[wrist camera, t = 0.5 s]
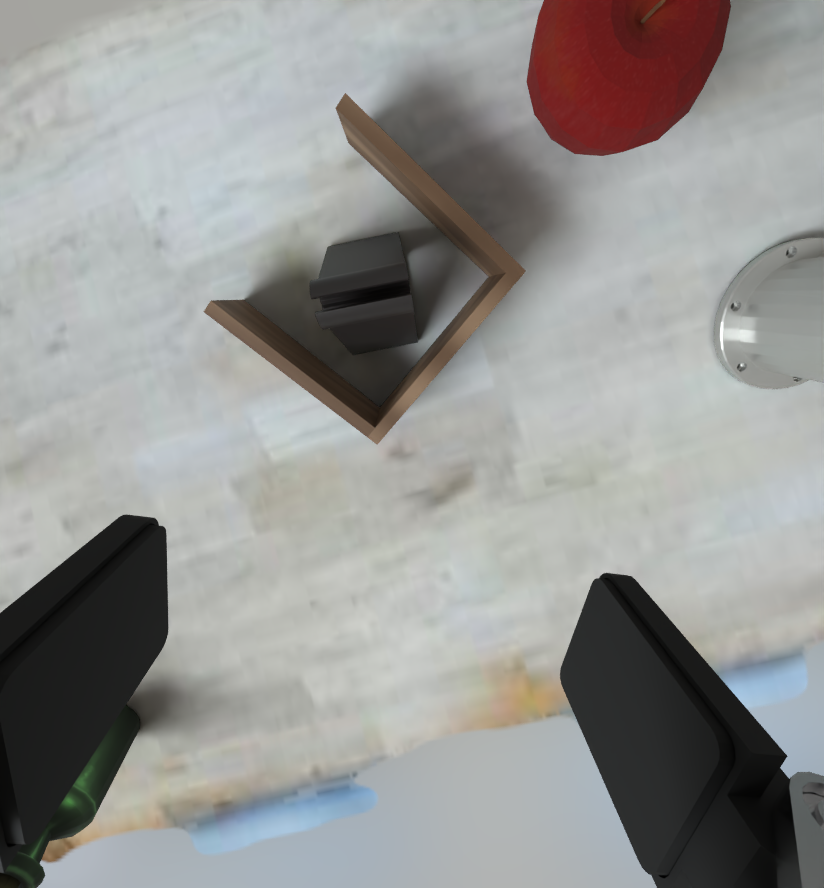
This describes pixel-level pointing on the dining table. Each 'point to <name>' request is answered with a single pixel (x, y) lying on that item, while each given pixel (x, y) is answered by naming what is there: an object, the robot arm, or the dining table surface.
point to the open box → (500, 281)
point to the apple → (621, 68)
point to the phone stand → (366, 294)
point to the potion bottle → (76, 802)
